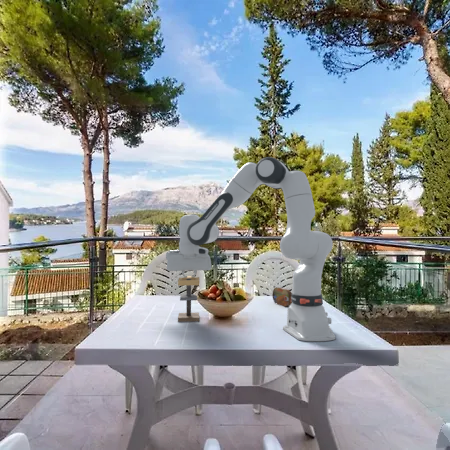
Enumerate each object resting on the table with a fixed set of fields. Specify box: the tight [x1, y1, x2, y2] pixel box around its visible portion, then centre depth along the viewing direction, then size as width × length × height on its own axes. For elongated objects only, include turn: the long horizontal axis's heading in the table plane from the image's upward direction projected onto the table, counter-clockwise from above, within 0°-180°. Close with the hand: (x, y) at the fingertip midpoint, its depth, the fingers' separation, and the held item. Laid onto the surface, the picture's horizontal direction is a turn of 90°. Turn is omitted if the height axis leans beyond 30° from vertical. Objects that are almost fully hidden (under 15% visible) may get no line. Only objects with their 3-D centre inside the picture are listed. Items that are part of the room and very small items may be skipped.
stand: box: [177, 278, 200, 323], centre depth 167 cm, size 9×9×18 cm
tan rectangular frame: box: [177, 275, 200, 287], centre depth 169 cm, size 14×9×2 cm, turn 4°
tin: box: [271, 287, 292, 307], centre depth 194 cm, size 15×3×8 cm, turn 25°
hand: (189, 280), depth 173 cm, fingers closed on tan rectangular frame, 2 cm apart
